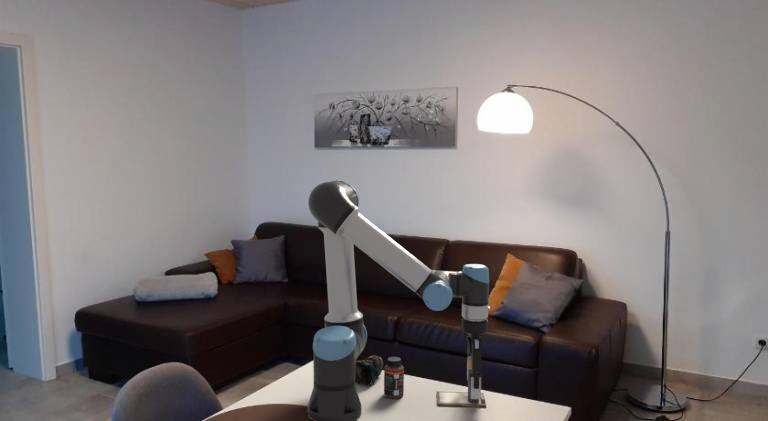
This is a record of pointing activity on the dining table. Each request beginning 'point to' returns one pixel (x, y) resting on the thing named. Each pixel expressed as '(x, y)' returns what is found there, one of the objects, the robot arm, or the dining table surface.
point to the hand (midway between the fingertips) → (473, 389)
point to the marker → (470, 382)
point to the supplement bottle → (394, 378)
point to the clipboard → (458, 399)
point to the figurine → (368, 370)
